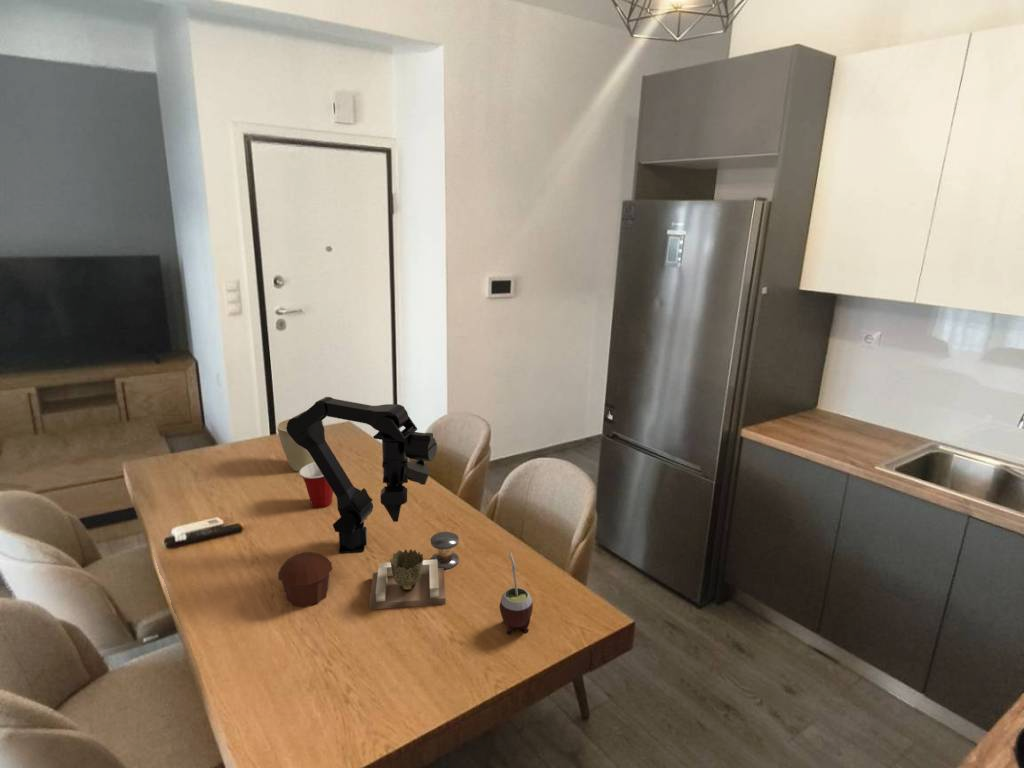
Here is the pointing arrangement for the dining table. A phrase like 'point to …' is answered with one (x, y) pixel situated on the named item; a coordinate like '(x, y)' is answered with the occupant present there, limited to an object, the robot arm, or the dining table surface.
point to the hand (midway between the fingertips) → (396, 512)
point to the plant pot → (293, 448)
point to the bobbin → (445, 549)
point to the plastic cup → (316, 486)
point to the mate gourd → (516, 606)
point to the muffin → (305, 578)
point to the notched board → (393, 596)
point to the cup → (407, 568)
